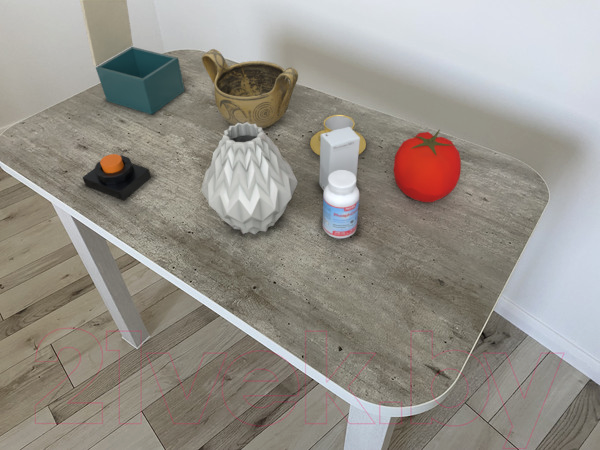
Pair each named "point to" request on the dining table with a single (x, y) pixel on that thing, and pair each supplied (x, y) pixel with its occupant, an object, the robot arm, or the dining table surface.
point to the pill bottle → (340, 204)
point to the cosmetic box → (338, 153)
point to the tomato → (427, 167)
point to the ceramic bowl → (250, 89)
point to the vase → (248, 179)
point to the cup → (334, 124)
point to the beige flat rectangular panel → (106, 28)
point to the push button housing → (118, 179)
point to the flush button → (112, 163)
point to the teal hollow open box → (141, 79)
